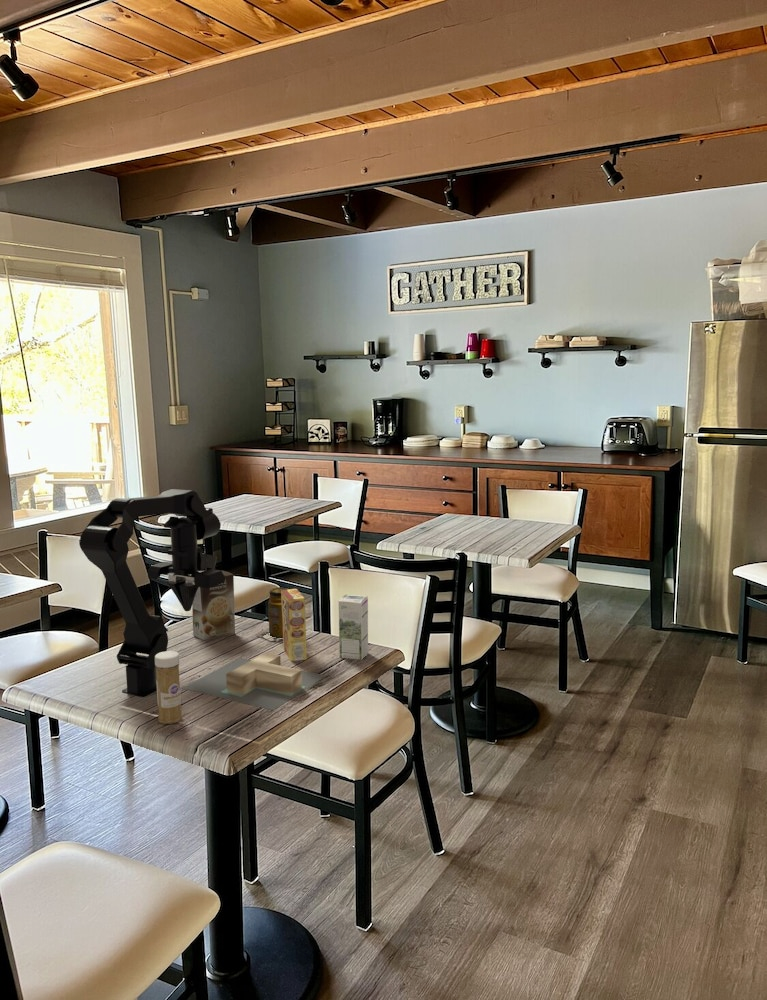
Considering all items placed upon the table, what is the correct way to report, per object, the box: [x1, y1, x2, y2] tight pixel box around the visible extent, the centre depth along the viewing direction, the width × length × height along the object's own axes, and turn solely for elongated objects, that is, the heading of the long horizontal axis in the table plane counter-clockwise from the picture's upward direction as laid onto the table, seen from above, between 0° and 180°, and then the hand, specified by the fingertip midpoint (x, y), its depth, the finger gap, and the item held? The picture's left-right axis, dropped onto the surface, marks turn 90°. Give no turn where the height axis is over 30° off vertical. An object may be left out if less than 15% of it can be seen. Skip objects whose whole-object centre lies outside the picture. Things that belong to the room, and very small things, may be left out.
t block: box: [226, 652, 303, 695], centre depth 167 cm, size 14×13×4 cm
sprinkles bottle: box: [155, 650, 183, 725], centre depth 151 cm, size 5×5×13 cm
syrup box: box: [338, 594, 369, 661], centre depth 184 cm, size 6×6×14 cm
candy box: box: [281, 588, 308, 662], centre depth 185 cm, size 9×4×15 cm, turn 19°
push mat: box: [181, 657, 327, 711], centre depth 169 cm, size 20×24×1 cm
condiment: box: [256, 587, 289, 641], centre depth 199 cm, size 7×8×12 cm
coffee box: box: [191, 570, 236, 641], centre depth 200 cm, size 9×6×16 cm
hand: (187, 610), depth 178 cm, fingers closed
